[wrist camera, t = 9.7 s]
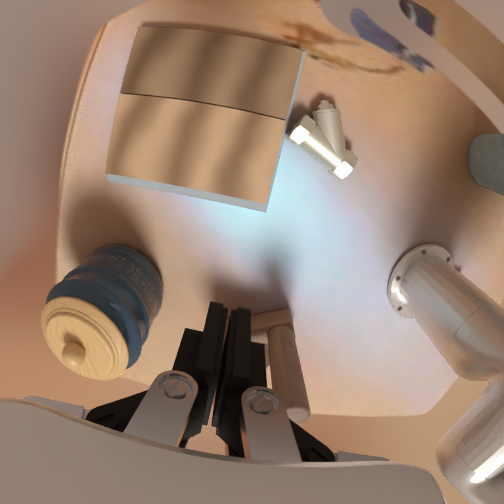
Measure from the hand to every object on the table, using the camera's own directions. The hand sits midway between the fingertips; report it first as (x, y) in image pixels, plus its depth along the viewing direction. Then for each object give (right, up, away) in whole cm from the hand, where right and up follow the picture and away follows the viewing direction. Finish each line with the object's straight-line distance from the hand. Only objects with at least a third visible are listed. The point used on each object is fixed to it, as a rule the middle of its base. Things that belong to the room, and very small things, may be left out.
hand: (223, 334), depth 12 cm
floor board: (-4, +25, +18) cm, 31 cm away
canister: (-17, -1, +29) cm, 34 cm away
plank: (-6, +16, +21) cm, 27 cm away
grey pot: (+38, +18, +22) cm, 47 cm away
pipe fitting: (+10, +18, +22) cm, 30 cm away
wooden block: (+2, -7, +31) cm, 32 cm away
